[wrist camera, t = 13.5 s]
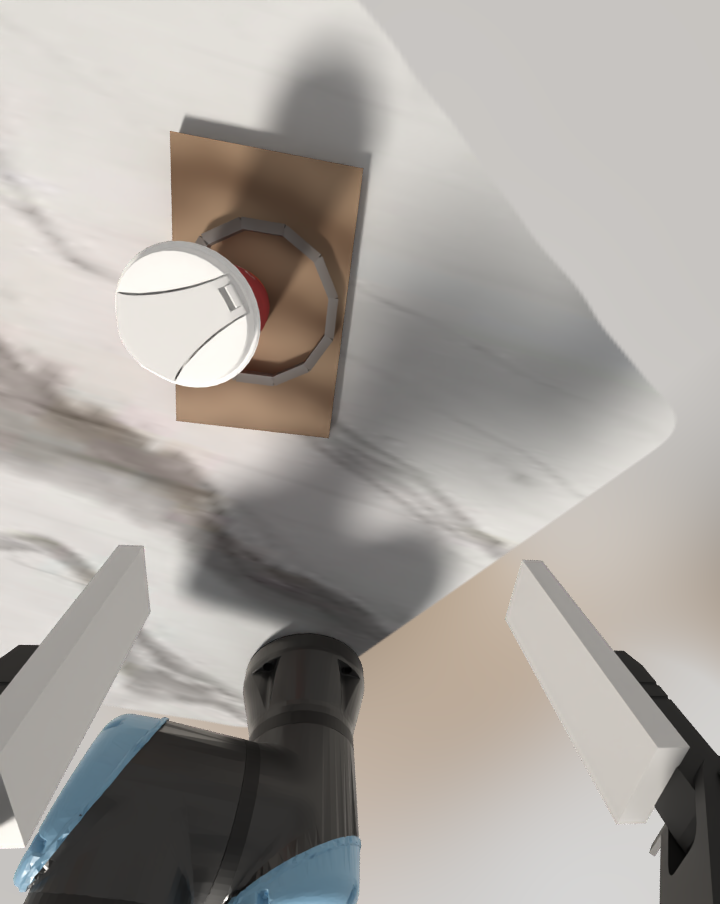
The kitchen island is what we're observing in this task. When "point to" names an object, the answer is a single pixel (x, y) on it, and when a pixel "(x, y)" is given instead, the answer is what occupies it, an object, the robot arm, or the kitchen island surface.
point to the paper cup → (189, 313)
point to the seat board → (272, 274)
